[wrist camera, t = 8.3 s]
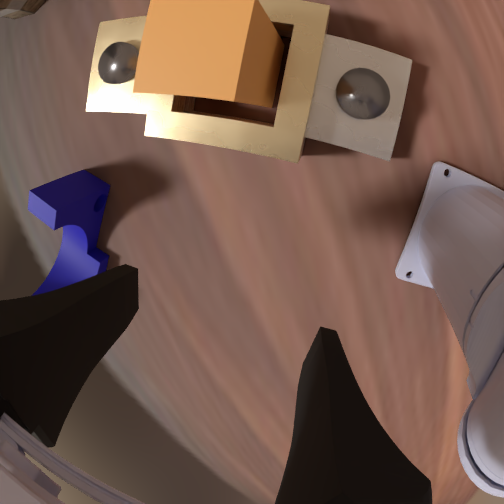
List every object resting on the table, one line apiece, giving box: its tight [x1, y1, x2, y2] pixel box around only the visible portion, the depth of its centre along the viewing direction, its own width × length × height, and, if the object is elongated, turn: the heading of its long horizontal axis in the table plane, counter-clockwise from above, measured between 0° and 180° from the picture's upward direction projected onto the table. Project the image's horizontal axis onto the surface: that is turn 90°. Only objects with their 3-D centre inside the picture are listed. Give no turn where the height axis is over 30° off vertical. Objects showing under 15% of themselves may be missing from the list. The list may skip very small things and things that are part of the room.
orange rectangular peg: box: [133, 0, 285, 108], centre depth 12 cm, size 4×4×8 cm
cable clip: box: [28, 170, 110, 296], centre depth 21 cm, size 12×4×6 cm, turn 153°
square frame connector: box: [86, 0, 412, 163], centre depth 14 cm, size 18×8×4 cm, turn 80°
